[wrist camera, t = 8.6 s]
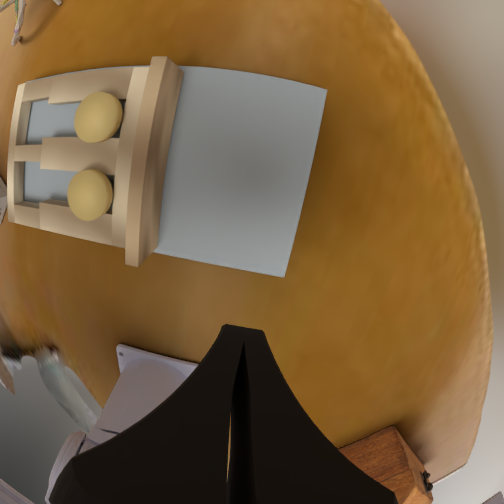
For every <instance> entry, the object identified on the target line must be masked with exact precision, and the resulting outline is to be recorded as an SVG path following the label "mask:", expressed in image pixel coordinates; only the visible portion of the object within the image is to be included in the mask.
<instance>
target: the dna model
mask: <svg viewBox="0 0 504 504" xmlns="http://www.w3.org/2000/svg"><path fill="white" fill-rule="evenodd" d="M7 1H8V0H5V1H4V2H3V3H2V4H1V5H0V12H1V11H3V10H4V9H5V8H7V7H8V6H9V5H11V4H12V3H14V2H15V11H16V26H15V30H14V32H15V34H14V37H13V40H12V42H11V45H12V46H15V45H16V44H17V42H18V41H19V40H20V38H21V37H20V36H19V37H18V35H19V32H20V29H21V26H22V24H23V18H24V10H25V6H26V5H27V4H26V3H25V0H19V1H20V2H19V13H18V0H11V1H9V2H8V3H6V2H7ZM53 1H54V2H55V3H56V4H57V5H61V3H62V1H61V0H53ZM5 3H6V4H5ZM4 4H5V5H4Z"/></svg>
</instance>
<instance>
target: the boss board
mask: <svg viewBox="0 0 504 504" xmlns="http://www.w3.org/2000/svg"><path fill="white" fill-rule="evenodd" d="M128 67H150V65H148V66H123V67H110V68H99V69H91V70H83V71H76V72H70V73H64V74H59V75H54V76H60V75H65V74H71V73H77V72H85V71H92V70H102V69H113V68H128ZM178 67H179V68H180V69H181V70H182V71H183V72H184V75H183V80H182V84H181V88H180V93H179V97H178V102H177V107H176V112H175V117H174V122H173V127H172V133H171V138H170V144H169V151H168V157H167V164H166V171H165V178H164V186H163V194H162V203H161V212H160V223H159V234H158V247H157V248H156V249H155V250H154V251H153V252H155V253H160V254H165V255H170V256H175V257H180V258H185V259H190V260H195V261H200V262H205V263H210V264H215V265H220V266H225V267H230V268H236V269H241V270H246V271H252V272H257V273H262V274H268V275H273V276H279V277H284V276H285V272H286V269H287V265H288V261H289V257H290V253H291V249H292V246H293V242H294V238H295V234H296V230H297V226H298V222H299V218H300V213H301V209H302V205H303V201H304V197H305V192H306V188H307V184H308V179H309V175H310V171H311V166H312V162H313V157H314V152H315V148H316V143H317V138H318V134H319V129H320V124H321V119H322V114H323V109H324V104H325V99H326V93H327V89H323V88H319V87H316V86H312V85H308V84H304V83H300V82H296V81H291V80H287V79H282V78H277V77H272V76H267V75H261V74H256V73H249V72H243V71H235V70H227V69H218V68H207V67H194V66H178ZM54 76H49V77H54ZM49 77H45V78H49ZM45 78H40V79H45ZM40 79H36V80H40ZM36 80H32V81H36ZM32 81H28V82H32ZM28 82H25V83H28ZM125 103H126V101H119V100H118V98H117V97H116V96H114V95H112V94H109V93H105V92H94V93H92V94H90V95H88V96H87V97H86V98H84V99H83V101H82V102H81V103H73V104H62V105H55V104H48V100H44V101H37V102H31V108H30V114H29V120H28V127H27V135H26V144H42V139H43V138H45V137H79V138H80V139H81V140H83V141H85V142H88V143H98V142H104V141H106V140H108V139H109V138H120V131H121V125H122V119H123V114H124V109H125ZM114 180H115V175H106V174H104V173H103V172H101V171H100V170H97V169H89V170H84V171H80V172H76V171H63V170H50V169H40V162H31V161H24V177H23V201H26V202H32V203H38V204H39V202H42V201H45V200H47V199H54V200H60V201H67V202H68V203H69V206H70V208H71V210H72V212H73V213H74V214H75V216H77V217H78V218H79V219H81V220H84V221H92V220H94V219H96V218H98V217H100V216H102V215H104V214H105V213H106V212H107V211H108V209H109V208H110V209H113V193H114Z"/></svg>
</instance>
